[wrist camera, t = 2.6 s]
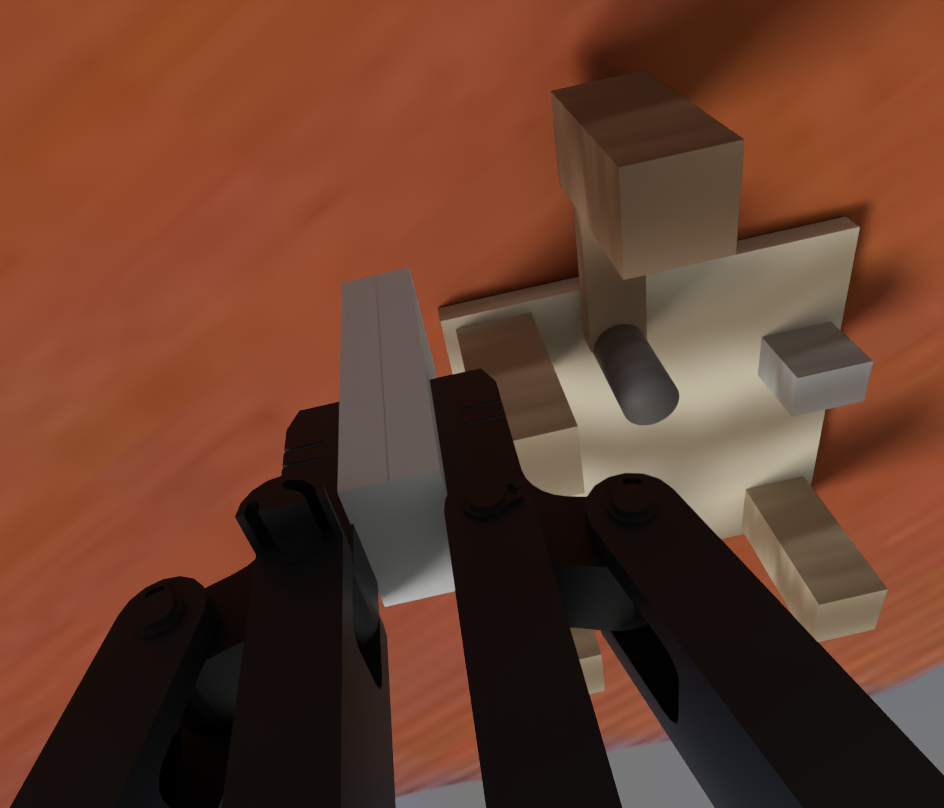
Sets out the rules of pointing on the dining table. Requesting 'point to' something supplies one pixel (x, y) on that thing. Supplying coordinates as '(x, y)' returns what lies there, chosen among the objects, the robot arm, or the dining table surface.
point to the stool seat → (701, 406)
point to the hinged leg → (641, 215)
